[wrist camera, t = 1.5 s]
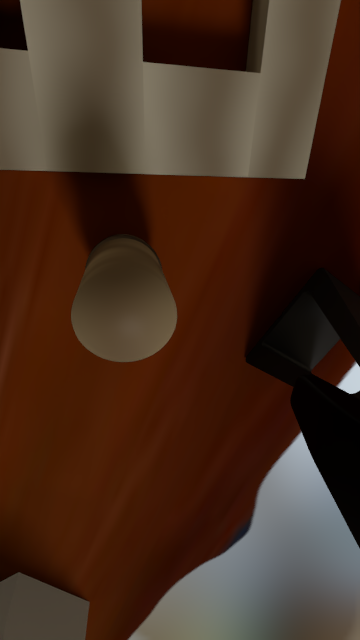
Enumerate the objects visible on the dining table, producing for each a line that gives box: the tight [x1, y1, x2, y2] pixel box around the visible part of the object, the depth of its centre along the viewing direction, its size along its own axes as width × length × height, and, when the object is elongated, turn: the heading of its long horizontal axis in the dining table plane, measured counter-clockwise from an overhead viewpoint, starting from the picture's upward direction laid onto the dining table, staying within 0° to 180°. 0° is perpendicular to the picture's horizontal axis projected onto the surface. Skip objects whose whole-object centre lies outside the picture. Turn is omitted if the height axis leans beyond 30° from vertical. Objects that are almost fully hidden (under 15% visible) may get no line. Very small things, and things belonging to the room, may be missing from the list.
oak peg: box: [71, 234, 177, 362], centre depth 15 cm, size 4×4×8 cm
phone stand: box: [246, 268, 360, 399], centre depth 18 cm, size 9×6×12 cm, turn 146°
